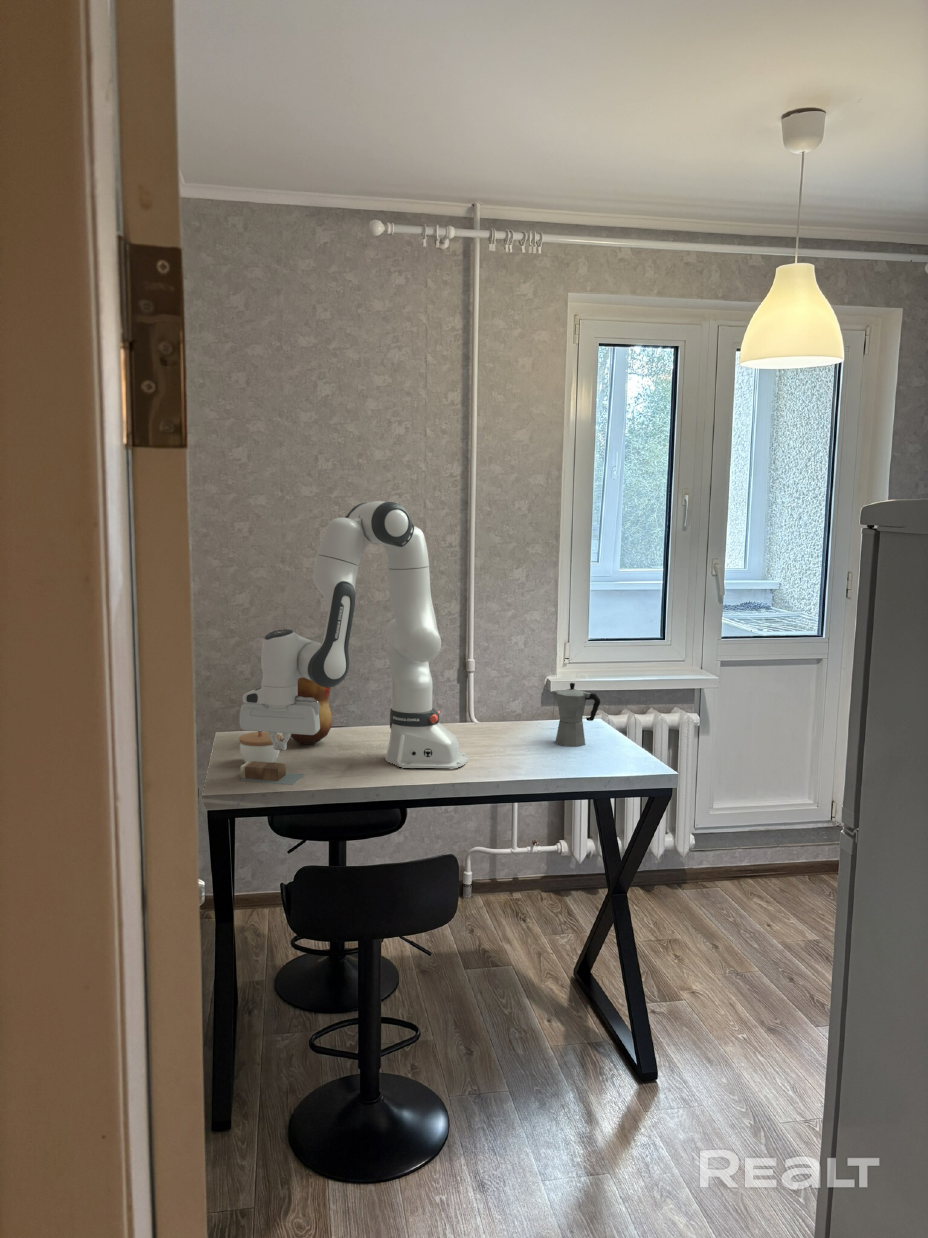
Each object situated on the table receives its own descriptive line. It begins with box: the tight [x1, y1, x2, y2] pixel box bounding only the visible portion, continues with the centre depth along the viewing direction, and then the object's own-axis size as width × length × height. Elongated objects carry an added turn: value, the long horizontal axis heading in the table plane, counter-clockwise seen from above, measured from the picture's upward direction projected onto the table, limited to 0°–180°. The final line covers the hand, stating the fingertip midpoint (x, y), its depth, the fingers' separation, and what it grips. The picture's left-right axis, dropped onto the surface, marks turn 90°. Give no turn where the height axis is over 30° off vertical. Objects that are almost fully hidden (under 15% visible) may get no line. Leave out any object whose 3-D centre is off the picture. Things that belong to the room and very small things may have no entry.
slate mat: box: [238, 772, 307, 786], centre depth 234 cm, size 14×9×1 cm, turn 79°
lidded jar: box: [238, 731, 282, 763], centre depth 247 cm, size 11×11×9 cm
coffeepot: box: [550, 682, 601, 747], centre depth 274 cm, size 15×9×18 cm, turn 61°
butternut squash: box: [290, 678, 333, 745], centre depth 269 cm, size 14×13×25 cm
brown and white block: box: [240, 761, 287, 781], centre depth 235 cm, size 3×5×10 cm
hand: (280, 749), depth 233 cm, fingers closed
